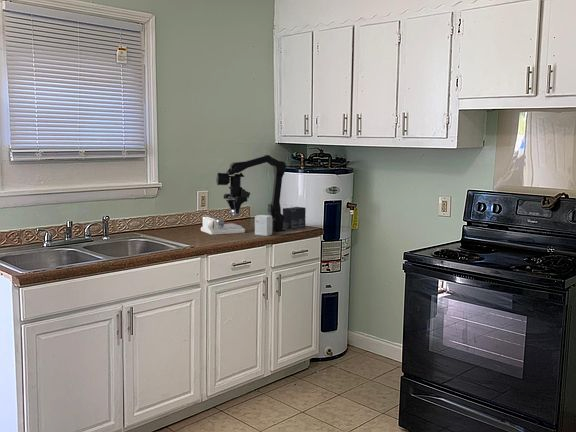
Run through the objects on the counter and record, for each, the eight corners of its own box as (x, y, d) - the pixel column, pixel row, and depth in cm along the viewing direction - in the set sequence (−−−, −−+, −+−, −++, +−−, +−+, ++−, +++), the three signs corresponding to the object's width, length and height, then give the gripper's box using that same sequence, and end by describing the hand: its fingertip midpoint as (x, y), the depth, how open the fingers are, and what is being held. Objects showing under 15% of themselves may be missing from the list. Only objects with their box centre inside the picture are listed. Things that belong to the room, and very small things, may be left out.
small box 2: (297, 226, 363) (297, 206, 361) (305, 227, 358) (306, 207, 356) (281, 228, 353) (282, 208, 352) (290, 229, 348) (290, 209, 347)
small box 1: (272, 234, 330) (272, 215, 328) (266, 236, 325) (267, 216, 324) (260, 233, 334) (260, 214, 332) (254, 234, 329) (254, 215, 328)
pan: (242, 228, 336) (242, 226, 336) (222, 229, 330) (222, 227, 330) (232, 225, 346) (232, 223, 346) (213, 226, 340) (213, 224, 340)
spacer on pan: (225, 225, 338) (225, 220, 338) (217, 225, 336) (217, 220, 335) (221, 224, 342) (221, 218, 342) (213, 224, 340) (213, 219, 339)
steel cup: (241, 215, 335) (241, 209, 335) (233, 215, 332) (233, 210, 332) (237, 214, 339) (237, 208, 339) (229, 214, 337) (229, 209, 336)
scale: (244, 232, 335) (245, 218, 334) (209, 234, 324) (209, 220, 323) (233, 228, 348) (233, 214, 347) (198, 230, 337) (198, 216, 336)
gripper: (256, 186, 330) (255, 214, 332) (241, 183, 346) (240, 210, 348) (237, 186, 324) (237, 215, 326) (223, 183, 340) (223, 211, 342)
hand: (235, 213), depth 336 cm, fingers closed on steel cup, 5 cm apart
